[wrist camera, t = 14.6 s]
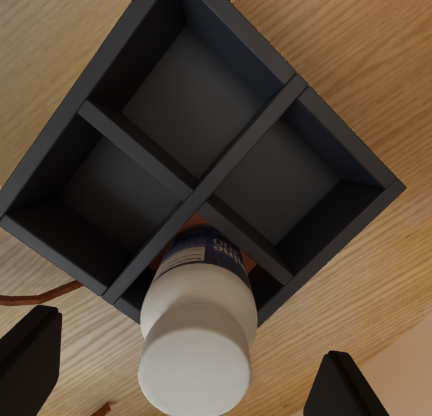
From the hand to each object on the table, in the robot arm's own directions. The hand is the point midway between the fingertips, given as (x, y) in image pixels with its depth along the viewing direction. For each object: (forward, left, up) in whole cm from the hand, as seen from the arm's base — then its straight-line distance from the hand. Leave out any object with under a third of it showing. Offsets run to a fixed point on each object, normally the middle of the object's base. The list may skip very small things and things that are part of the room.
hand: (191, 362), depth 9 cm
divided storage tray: (-3, +3, -10) cm, 11 cm away
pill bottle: (0, 0, -10) cm, 10 cm away
